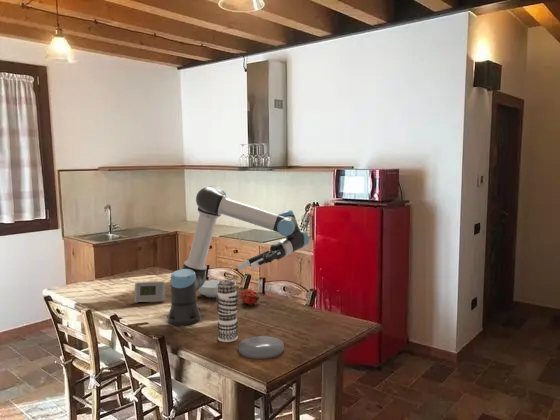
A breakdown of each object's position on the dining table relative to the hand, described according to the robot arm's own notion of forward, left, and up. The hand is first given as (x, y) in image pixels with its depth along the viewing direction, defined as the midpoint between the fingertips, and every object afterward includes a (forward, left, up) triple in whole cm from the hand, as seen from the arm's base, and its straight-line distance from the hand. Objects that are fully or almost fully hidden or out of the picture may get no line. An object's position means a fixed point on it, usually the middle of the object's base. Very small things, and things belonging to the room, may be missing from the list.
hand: (244, 267), depth 204 cm
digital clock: (-52, +43, -28) cm, 73 cm away
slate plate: (+7, -25, -28) cm, 38 cm away
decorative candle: (-7, -12, -28) cm, 31 cm away
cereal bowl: (-19, +52, -28) cm, 62 cm away
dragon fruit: (+2, +35, -28) cm, 44 cm away
